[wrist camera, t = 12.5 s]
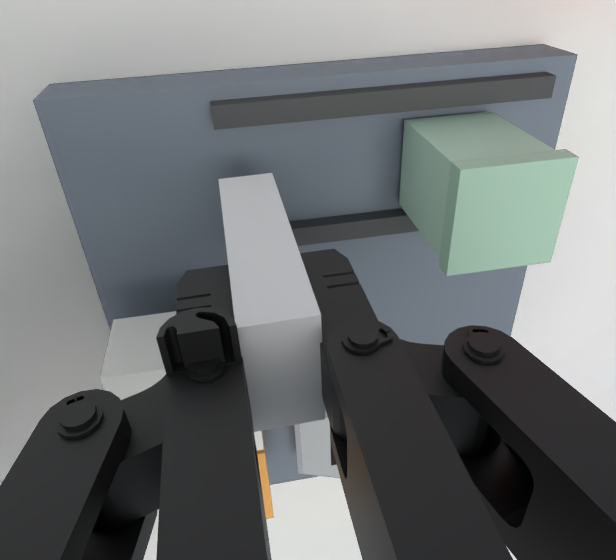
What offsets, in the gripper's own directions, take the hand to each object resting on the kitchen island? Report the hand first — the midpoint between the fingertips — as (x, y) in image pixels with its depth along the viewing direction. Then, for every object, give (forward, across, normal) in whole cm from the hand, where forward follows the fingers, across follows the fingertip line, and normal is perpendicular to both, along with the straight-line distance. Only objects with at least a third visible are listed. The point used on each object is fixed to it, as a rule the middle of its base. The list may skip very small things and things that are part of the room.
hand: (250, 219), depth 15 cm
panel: (+5, +3, -7) cm, 9 cm away
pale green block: (+2, +7, 0) cm, 7 cm away
